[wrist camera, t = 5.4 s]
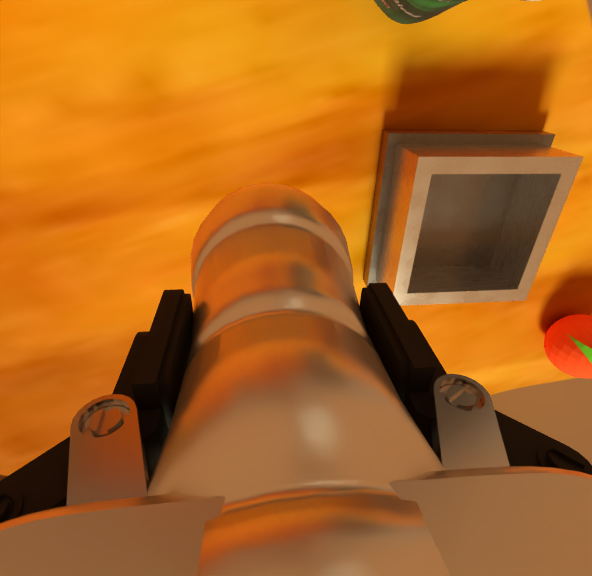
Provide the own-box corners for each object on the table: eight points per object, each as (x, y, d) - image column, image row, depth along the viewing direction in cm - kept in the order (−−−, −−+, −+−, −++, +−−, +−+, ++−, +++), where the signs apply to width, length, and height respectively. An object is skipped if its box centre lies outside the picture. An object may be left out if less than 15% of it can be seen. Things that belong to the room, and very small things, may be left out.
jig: (382, 129, 31) (409, 144, 26) (542, 131, 32) (598, 145, 27) (363, 279, 38) (380, 313, 33) (494, 275, 39) (530, 307, 34)
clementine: (513, 330, 44) (555, 373, 38) (564, 287, 41) (618, 326, 35) (550, 357, 47) (595, 402, 41) (600, 319, 44) (655, 360, 38)
